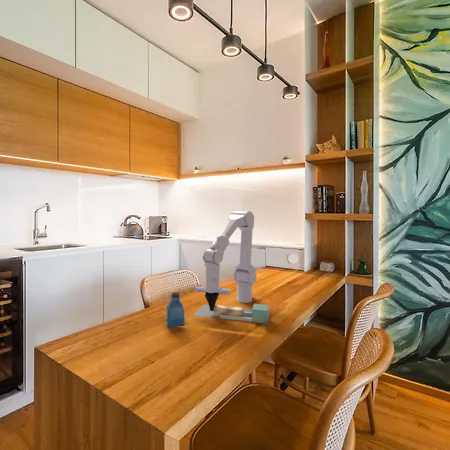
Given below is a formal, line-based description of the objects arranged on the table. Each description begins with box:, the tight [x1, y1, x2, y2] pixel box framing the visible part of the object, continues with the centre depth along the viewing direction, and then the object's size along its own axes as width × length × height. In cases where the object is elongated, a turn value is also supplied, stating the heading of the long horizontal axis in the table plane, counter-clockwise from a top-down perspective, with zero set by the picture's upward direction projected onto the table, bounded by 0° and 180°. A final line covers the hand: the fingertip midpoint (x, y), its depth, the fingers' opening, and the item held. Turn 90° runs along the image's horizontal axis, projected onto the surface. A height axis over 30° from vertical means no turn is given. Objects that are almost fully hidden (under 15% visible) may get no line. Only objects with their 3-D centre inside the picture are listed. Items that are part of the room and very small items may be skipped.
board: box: [193, 303, 271, 327], centre depth 121 cm, size 14×30×6 cm, turn 77°
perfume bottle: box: [166, 291, 185, 328], centre depth 112 cm, size 6×6×12 cm
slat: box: [214, 304, 245, 317], centre depth 118 cm, size 12×3×4 cm, turn 76°
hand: (212, 310), depth 120 cm, fingers closed
